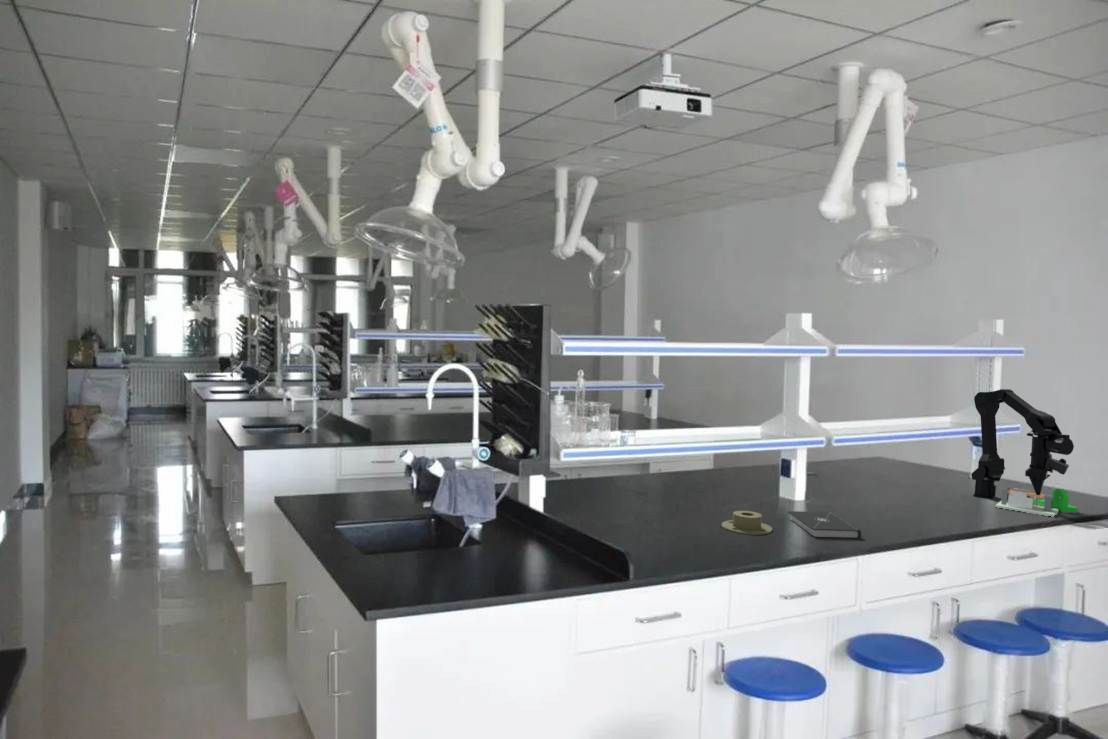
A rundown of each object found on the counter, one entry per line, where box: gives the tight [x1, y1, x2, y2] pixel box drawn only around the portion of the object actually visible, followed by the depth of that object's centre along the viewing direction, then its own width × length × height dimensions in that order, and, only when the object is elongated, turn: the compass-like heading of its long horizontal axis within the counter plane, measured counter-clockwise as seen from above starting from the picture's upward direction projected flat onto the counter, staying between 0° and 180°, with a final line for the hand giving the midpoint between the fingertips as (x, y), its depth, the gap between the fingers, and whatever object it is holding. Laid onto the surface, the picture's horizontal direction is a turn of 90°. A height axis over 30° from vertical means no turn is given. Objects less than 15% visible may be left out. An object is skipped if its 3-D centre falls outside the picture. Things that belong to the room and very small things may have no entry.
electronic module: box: [1000, 486, 1053, 512], centre depth 291 cm, size 15×7×6 cm, turn 52°
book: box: [787, 510, 862, 539], centre depth 253 cm, size 22×15×3 cm
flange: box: [721, 510, 773, 536], centre depth 250 cm, size 5×15×15 cm
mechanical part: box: [1037, 488, 1079, 513], centre depth 294 cm, size 12×6×8 cm, turn 8°
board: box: [995, 500, 1060, 518], centre depth 291 cm, size 18×12×1 cm, turn 52°
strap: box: [1008, 489, 1046, 499], centre depth 291 cm, size 13×3×1 cm, turn 52°
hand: (1038, 494), depth 288 cm, fingers closed, pressing on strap
